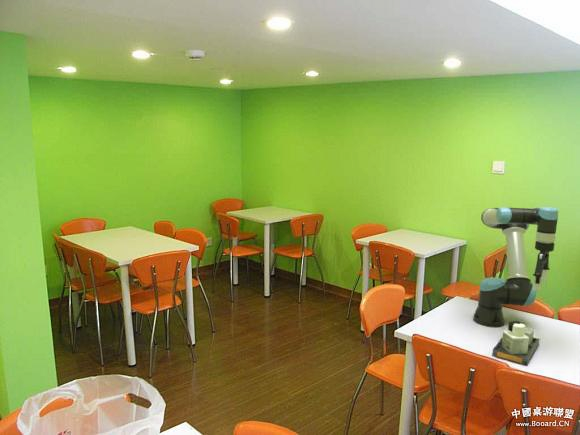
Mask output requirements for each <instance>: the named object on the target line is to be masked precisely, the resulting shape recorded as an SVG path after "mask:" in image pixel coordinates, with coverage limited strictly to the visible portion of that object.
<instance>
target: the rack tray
mask: <svg viewBox="0 0 580 435" xmlns="http://www.w3.org/2000/svg"><path fill="white" fill-rule="evenodd" d="M502 338H503V336H502V337H501V338H500V340H499V341H498V342H497V344H496V345H495V346H494V347H493V348H492V357H495V358H499V359H501V360H502V359H503V360H505V361H509V362H512V363H516V364H519V365H522V366H527V367H528V365H529V363H530V361H531V360H532V358H533V357H534V354H535V352H536V351H537V349H538V347H539V345H540V338H537V337H534V336H533V341H532V343H531V345H530V344H528V351H527V354H510V353H509V352H508V351H507V350H506V349H504V348H503V347H502Z"/></svg>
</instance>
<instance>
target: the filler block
mask: <svg viewBox="0 0 580 435" xmlns="http://www.w3.org/2000/svg"><path fill="white" fill-rule="evenodd" d="M534 333H535V329H534V328H532V327H527V326H525V333H524V334H525V335H526V336H527V337H529V342H528V344H530V345H531V343H532V341H533V337H534Z"/></svg>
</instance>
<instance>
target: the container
mask: <svg viewBox="0 0 580 435" xmlns="http://www.w3.org/2000/svg"><path fill="white" fill-rule="evenodd" d="M525 327H526V324H525V323H524V322H521V321H518V320H511V321H509V322H508V328H507V329H508V330H503V331H502V337H503V338H502V337H501V338H502V347H503V348H504V349H506V350H507V351H508V352H509V353H510V354H527V351H528V342H529V337H527V336H526V335H525V334H524V333H525Z"/></svg>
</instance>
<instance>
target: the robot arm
mask: <svg viewBox="0 0 580 435" xmlns="http://www.w3.org/2000/svg"><path fill="white" fill-rule="evenodd" d="M480 219H481V220H480V221H481V222H482V223H483V225H485V226H486V227H488V228H492V229H496V230H497V229H499V230H502V231H501V232H502V234H503V235H505V243H506V255H507V268H508V277H507V278H506V280H505V279H503V278H501V277H485V278H484V279H481V281H480V283H479V288H478V289H479V291H478V292H479V293H478V294H479V295H478V301H477V302H478V304H477V307H476V310H475V311H474V313H473V317H472V319H473V321H474V322H475V323H477V324H478V325H481V326H483V327H484V326H485V327H490V328H500V327H504V326H505V317H504V312H503V305H509V306H510V305H511V306H521V307H523V306H524V307H530V306H532V305H533V304H534V302H535V300H536V297H537V291H538V292H541V289H542V288H541V287H542V284H544V285H546V284H547V277H548V271H550V266H549V262H550V252H553V251H555V243H554V242H556V239H557V237H558V236H557V235H556V233H557V225H558V220H559V209H558V208H557V207H550V206H541V207H533V208H524V207H508V206H507V207H505V206H502V207H492V208H487V209H485V210H484V211H483V212H482V213H481V216H480ZM530 225H535V226H537V227H536V234H535V242H534V243H535V244H534V249H535V250H537V251H539V253H538V254H537V260H536V265H535V270H534V273H533V274H532V276H533V277H534V280H533V283H532V281H531V280H532V279H531V278H530V277H528V272H527V262H526V252H525V241H524V234H525V233H526V232H527V230H528V229H529V228H530Z"/></svg>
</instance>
